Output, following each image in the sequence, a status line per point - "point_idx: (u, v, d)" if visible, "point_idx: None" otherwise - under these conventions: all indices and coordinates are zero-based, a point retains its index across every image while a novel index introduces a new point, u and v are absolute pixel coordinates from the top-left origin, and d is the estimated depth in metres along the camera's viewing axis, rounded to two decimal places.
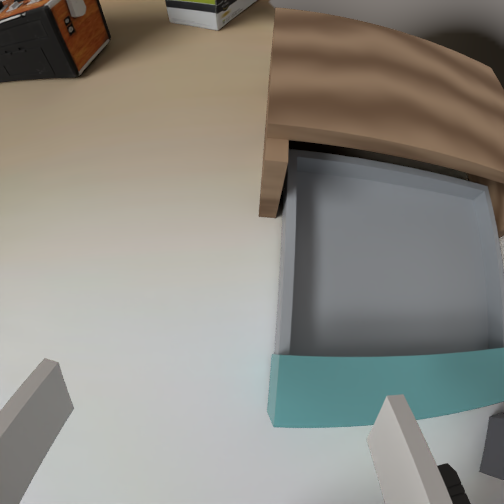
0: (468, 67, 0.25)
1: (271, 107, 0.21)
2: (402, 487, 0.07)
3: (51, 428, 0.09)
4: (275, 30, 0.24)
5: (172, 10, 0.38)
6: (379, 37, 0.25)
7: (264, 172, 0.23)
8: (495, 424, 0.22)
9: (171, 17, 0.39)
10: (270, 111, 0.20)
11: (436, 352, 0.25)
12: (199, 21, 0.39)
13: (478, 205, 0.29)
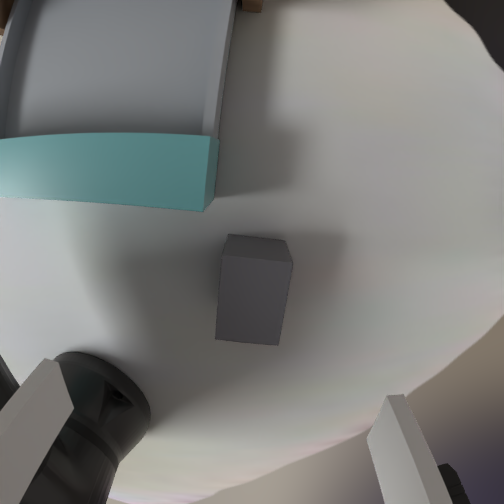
0: None
1: None
2: (402, 487, 0.07)
3: (51, 428, 0.09)
4: None
5: None
6: None
7: None
8: None
9: None
10: None
11: (121, 133, 0.24)
12: None
13: None
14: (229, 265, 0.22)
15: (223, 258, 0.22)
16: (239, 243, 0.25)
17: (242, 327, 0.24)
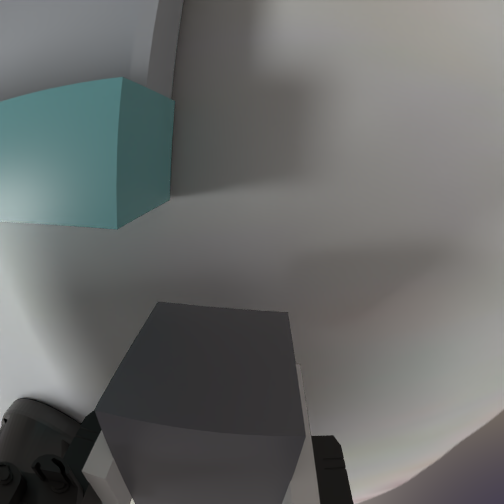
0: None
1: None
2: None
3: None
4: None
5: None
6: None
7: None
8: None
9: None
10: None
11: None
12: None
13: None
14: (122, 433, 0.06)
15: (101, 417, 0.06)
16: (167, 342, 0.09)
17: None
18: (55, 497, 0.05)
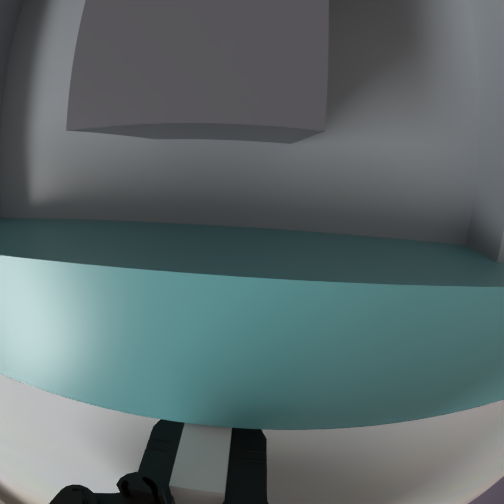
0: None
1: None
2: None
3: None
4: None
5: None
6: None
7: None
8: None
9: None
10: None
11: (310, 227, 0.12)
12: None
13: None
14: None
15: None
16: None
17: (161, 53, 0.05)
18: None
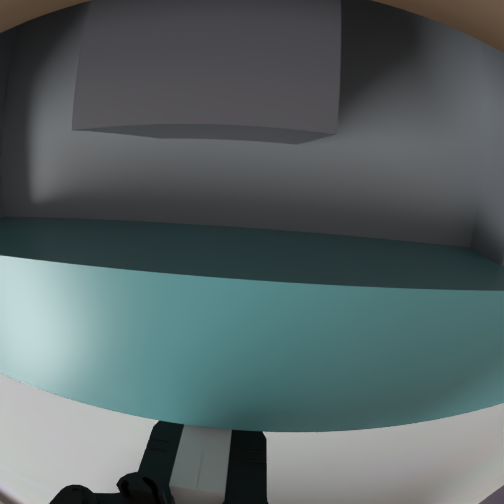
0: None
1: None
2: None
3: None
4: None
5: None
6: None
7: None
8: None
9: None
10: None
11: (316, 228, 0.12)
12: None
13: None
14: None
15: None
16: None
17: (170, 52, 0.05)
18: None
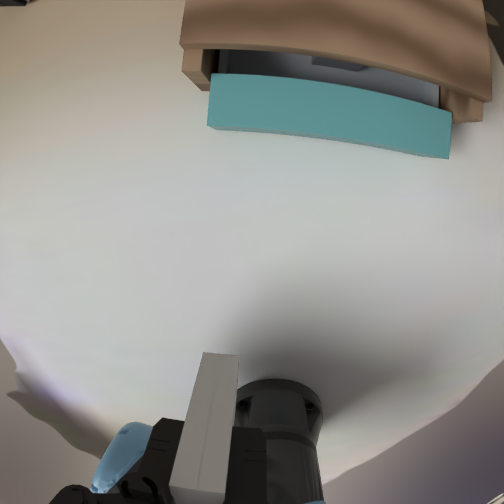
0: None
1: (183, 26, 0.20)
2: None
3: None
4: None
5: None
6: None
7: (186, 75, 0.24)
8: None
9: None
10: (182, 31, 0.20)
11: None
12: None
13: None
14: None
15: None
16: None
17: None
18: None
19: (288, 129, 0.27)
